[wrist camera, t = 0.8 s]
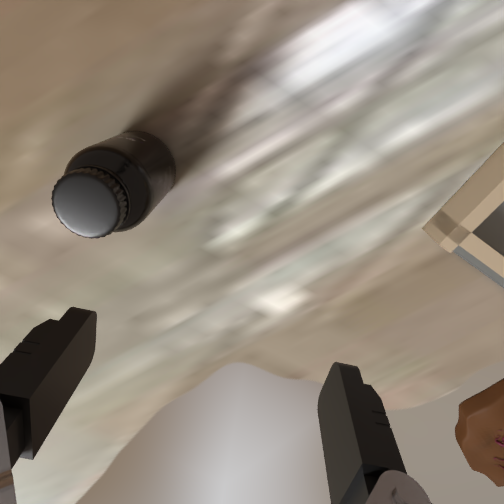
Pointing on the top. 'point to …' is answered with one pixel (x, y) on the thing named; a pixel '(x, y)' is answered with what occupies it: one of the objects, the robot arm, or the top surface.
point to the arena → (476, 220)
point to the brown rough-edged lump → (483, 431)
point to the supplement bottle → (113, 184)
